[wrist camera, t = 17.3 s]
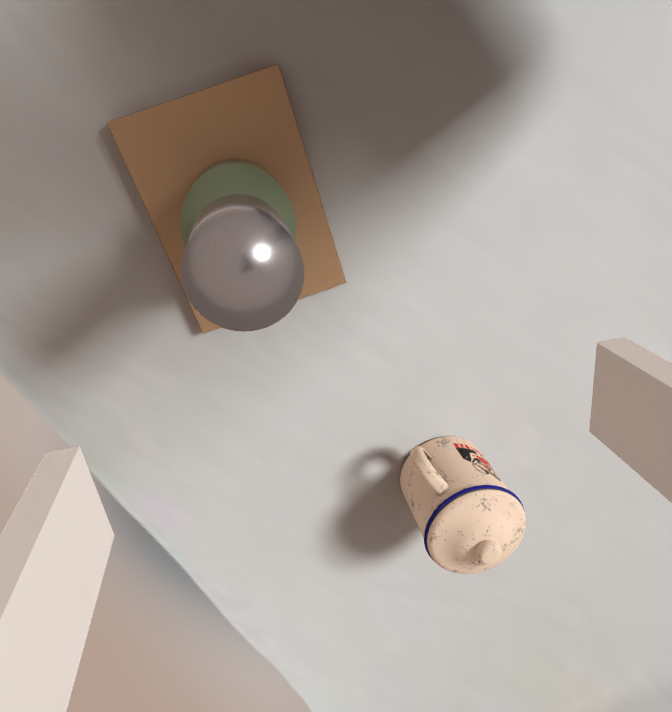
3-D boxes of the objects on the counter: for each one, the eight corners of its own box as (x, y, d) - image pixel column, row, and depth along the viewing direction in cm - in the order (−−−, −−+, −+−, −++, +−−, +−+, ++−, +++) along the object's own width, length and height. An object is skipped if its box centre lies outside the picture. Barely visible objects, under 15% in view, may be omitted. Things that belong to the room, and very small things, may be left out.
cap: (288, 293, 30) (301, 331, 25) (191, 291, 29) (183, 330, 24) (292, 196, 28) (307, 215, 23) (188, 191, 27) (178, 209, 22)
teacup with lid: (499, 471, 55) (562, 554, 45) (428, 523, 56) (473, 615, 46) (437, 395, 50) (492, 468, 40) (361, 453, 51) (395, 539, 41)
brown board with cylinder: (110, 122, 37) (53, 124, 25) (276, 65, 37) (299, 40, 25) (203, 328, 44) (194, 406, 32) (343, 278, 44) (385, 337, 32)
